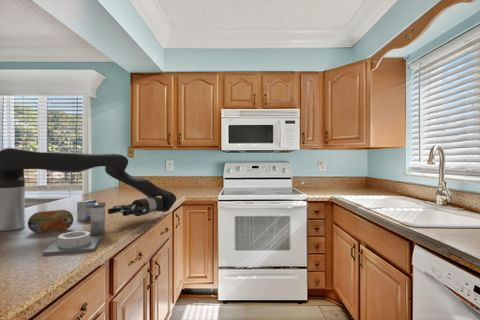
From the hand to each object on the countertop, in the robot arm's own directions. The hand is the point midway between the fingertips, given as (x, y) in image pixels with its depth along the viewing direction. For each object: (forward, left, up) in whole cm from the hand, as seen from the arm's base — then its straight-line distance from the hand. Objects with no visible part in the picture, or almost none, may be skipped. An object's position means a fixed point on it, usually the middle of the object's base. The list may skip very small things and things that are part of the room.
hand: (115, 212), depth 117 cm
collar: (-11, -20, -7) cm, 24 cm away
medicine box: (-15, +25, -7) cm, 30 cm away
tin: (-24, +4, -7) cm, 25 cm away
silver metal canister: (-6, -6, -7) cm, 11 cm away
